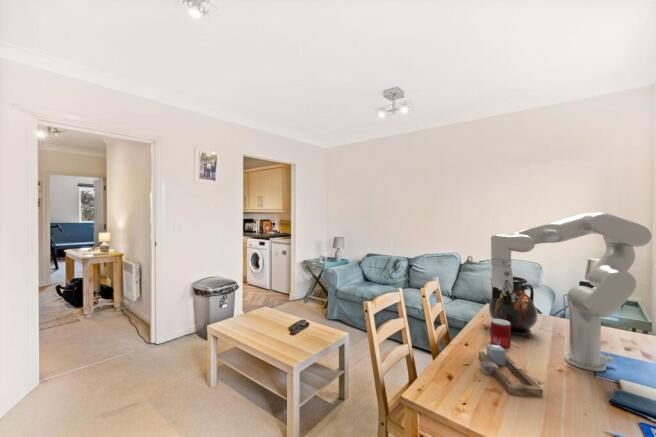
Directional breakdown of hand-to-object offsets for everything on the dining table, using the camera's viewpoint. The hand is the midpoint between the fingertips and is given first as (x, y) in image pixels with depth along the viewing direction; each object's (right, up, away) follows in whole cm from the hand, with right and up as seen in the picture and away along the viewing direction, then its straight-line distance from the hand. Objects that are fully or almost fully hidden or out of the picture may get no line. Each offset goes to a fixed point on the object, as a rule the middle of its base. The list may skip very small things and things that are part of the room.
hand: (501, 301), depth 123 cm
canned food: (+5, -23, +10) cm, 26 cm away
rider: (-7, -23, -7) cm, 25 cm away
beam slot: (-9, -23, -16) cm, 29 cm away
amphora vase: (+22, -23, +26) cm, 41 cm away
